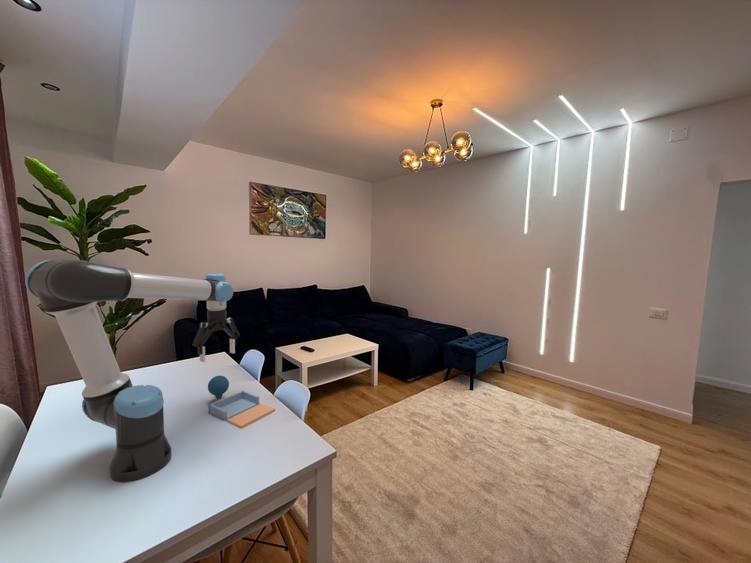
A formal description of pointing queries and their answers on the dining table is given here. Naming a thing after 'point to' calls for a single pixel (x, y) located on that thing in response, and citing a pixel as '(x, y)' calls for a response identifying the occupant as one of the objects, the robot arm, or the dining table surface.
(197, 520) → the dining table surface
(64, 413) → the dining table surface
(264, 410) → the panel
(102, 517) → the dining table surface
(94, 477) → the dining table surface
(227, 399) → the blue-grey shallow rectangular box
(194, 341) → the robot arm
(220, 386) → the light bulb
